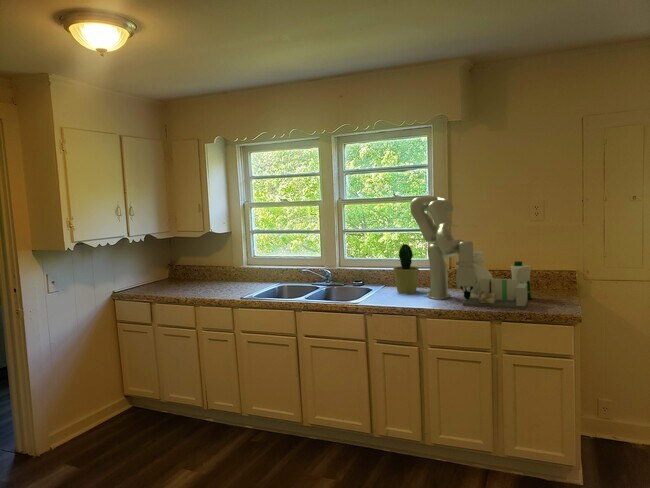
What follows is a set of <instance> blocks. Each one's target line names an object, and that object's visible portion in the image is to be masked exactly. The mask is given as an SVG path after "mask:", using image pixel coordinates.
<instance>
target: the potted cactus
mask: <svg viewBox="0 0 650 488" xmlns="http://www.w3.org/2000/svg"><path fill="white" fill-rule="evenodd" d="M397 256H398V259H399V260H398V261H399V264H400V266H397V267H396V266H395V267H393V268H392V269H393V274H394V280H395V285H396V286H395V287H396V291H397V293H398V292H399V293H398V294H402V293H406V294H407V293H410V294H415V293H416V292H417V285H418V277H419V267H418V266H415V265H412V264H413V257H414V254H413V249H412V247H411V246H410V245H409V244H407V243H403V244H401V246H400V247H399V250H398V254H397ZM406 294H405V295H406Z"/></svg>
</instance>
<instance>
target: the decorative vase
mask: <svg viewBox="0 0 650 488" xmlns="http://www.w3.org/2000/svg"><path fill="white" fill-rule="evenodd" d="M473 256H474V267H475V269H476V275H477V286H478V287H477V288H474V289H472V290H471V291H470V297H469V298H479V293H480V292H481V278H488V279H494V278H493V274H492V273H491V272H490V271H489V269H488V268H487V267H486V266H485V265H483V263H484V262H485V260H486V258H485V257H484V256H483V251H480V250H479V251H478V250H477V251H476V250H475V251H474V250H473ZM471 287H472V286H471ZM466 290H468V286H466Z"/></svg>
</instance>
